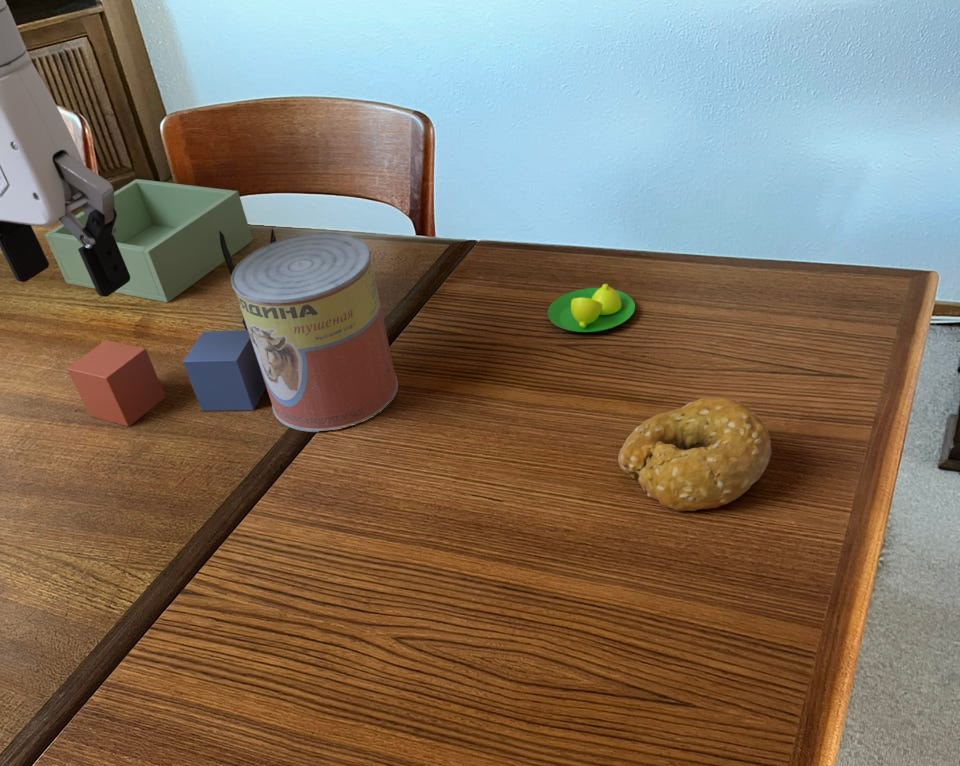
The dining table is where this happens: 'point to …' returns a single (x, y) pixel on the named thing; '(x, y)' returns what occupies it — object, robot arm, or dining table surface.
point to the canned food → (317, 329)
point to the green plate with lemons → (591, 309)
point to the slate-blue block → (225, 371)
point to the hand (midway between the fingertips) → (74, 281)
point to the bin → (162, 237)
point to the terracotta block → (116, 382)
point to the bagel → (698, 454)
